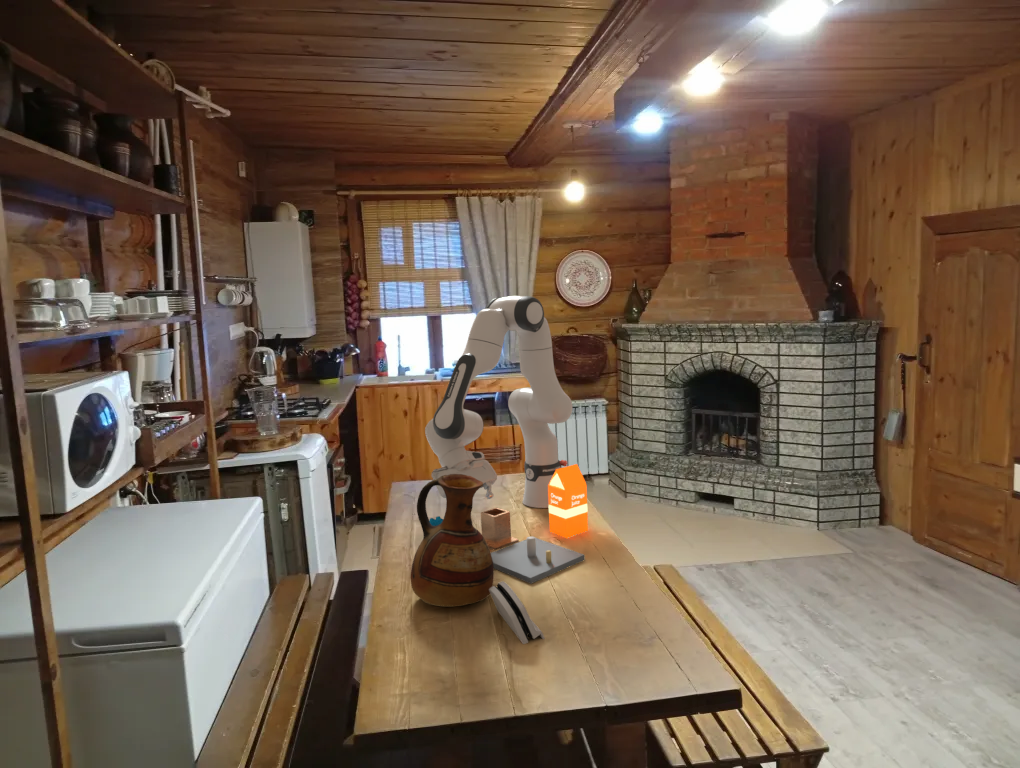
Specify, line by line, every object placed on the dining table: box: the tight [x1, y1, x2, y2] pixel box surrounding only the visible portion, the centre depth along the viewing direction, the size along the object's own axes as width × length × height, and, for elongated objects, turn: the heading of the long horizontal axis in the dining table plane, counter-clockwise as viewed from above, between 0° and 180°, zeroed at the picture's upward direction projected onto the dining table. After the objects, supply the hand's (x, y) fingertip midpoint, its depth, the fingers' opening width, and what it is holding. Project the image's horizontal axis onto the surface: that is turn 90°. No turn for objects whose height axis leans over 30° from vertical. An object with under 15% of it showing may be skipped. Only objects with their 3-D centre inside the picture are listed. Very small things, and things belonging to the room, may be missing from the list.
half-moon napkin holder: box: [489, 580, 546, 645], centre depth 152 cm, size 17×5×10 cm, turn 20°
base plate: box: [490, 536, 586, 584], centre depth 187 cm, size 20×20×6 cm
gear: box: [429, 515, 445, 526], centre depth 207 cm, size 11×6×10 cm
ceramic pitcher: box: [410, 474, 495, 607], centre depth 165 cm, size 20×20×30 cm
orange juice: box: [548, 463, 589, 539], centre depth 207 cm, size 8×9×20 cm
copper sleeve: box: [480, 507, 520, 551], centre depth 202 cm, size 9×9×9 cm
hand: (478, 501), depth 206 cm, fingers open, 8 cm apart
